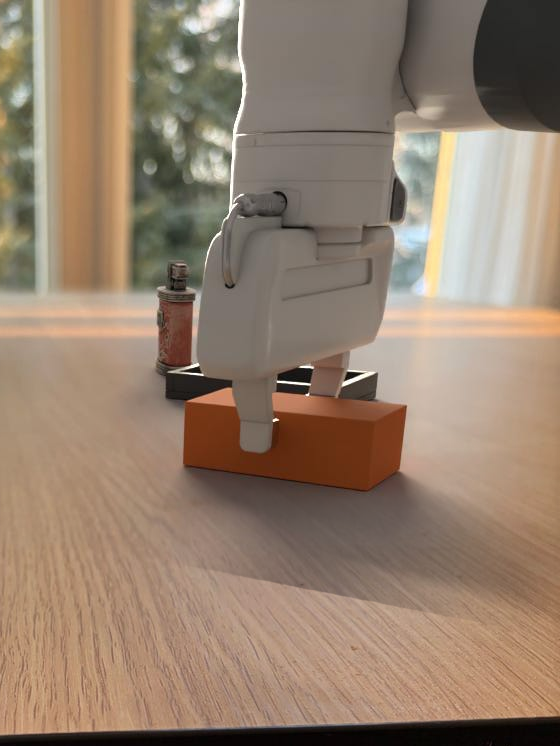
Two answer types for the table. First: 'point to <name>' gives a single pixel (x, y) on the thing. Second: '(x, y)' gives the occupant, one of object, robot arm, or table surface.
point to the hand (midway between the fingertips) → (290, 435)
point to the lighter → (175, 319)
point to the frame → (293, 381)
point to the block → (300, 439)
